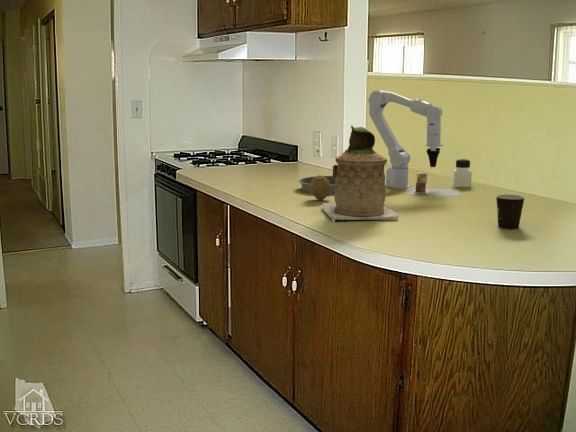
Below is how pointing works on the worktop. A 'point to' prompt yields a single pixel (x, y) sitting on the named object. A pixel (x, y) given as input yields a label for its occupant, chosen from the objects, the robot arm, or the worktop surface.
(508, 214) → the coffee mug
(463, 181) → the medicine bottle
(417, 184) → the walnut block
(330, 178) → the cake pan
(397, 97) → the robot arm
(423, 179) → the maple block
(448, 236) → the worktop surface
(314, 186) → the natural sponge
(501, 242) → the worktop surface
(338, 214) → the cookie jar
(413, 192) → the grey flat slab
